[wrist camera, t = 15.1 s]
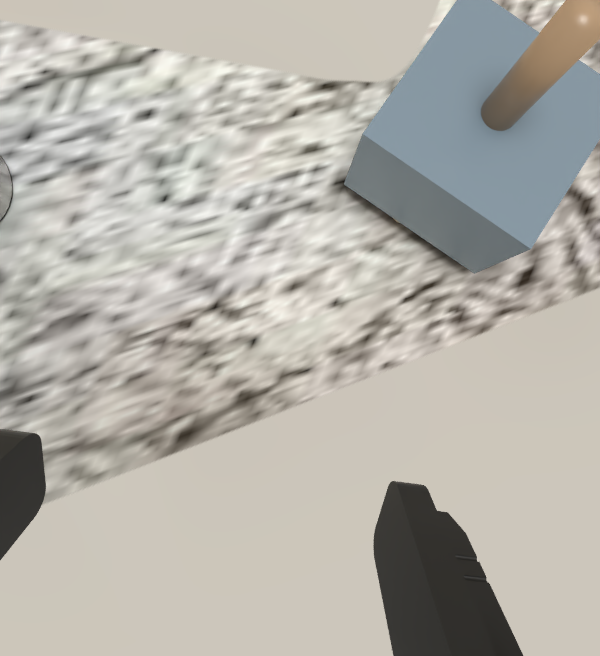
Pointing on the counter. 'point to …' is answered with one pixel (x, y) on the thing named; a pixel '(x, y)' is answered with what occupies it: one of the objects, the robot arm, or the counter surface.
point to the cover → (485, 130)
